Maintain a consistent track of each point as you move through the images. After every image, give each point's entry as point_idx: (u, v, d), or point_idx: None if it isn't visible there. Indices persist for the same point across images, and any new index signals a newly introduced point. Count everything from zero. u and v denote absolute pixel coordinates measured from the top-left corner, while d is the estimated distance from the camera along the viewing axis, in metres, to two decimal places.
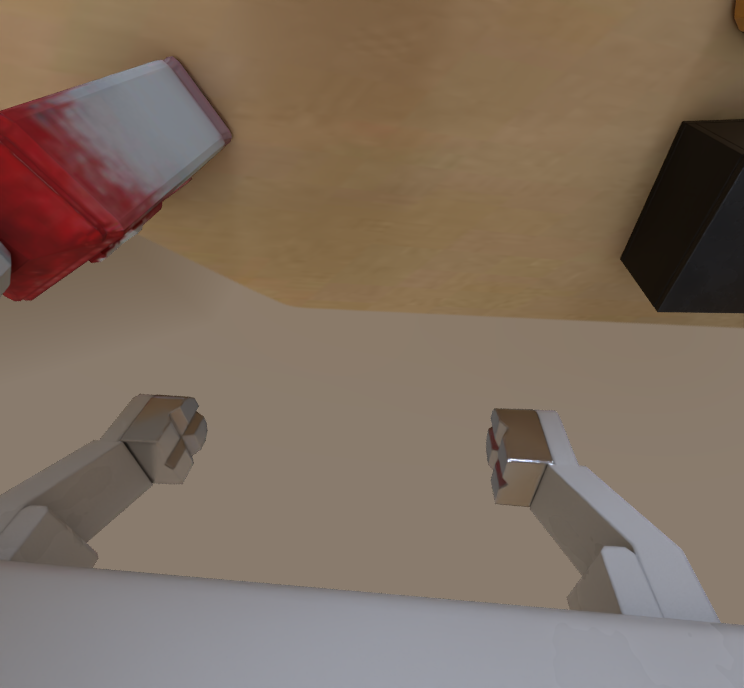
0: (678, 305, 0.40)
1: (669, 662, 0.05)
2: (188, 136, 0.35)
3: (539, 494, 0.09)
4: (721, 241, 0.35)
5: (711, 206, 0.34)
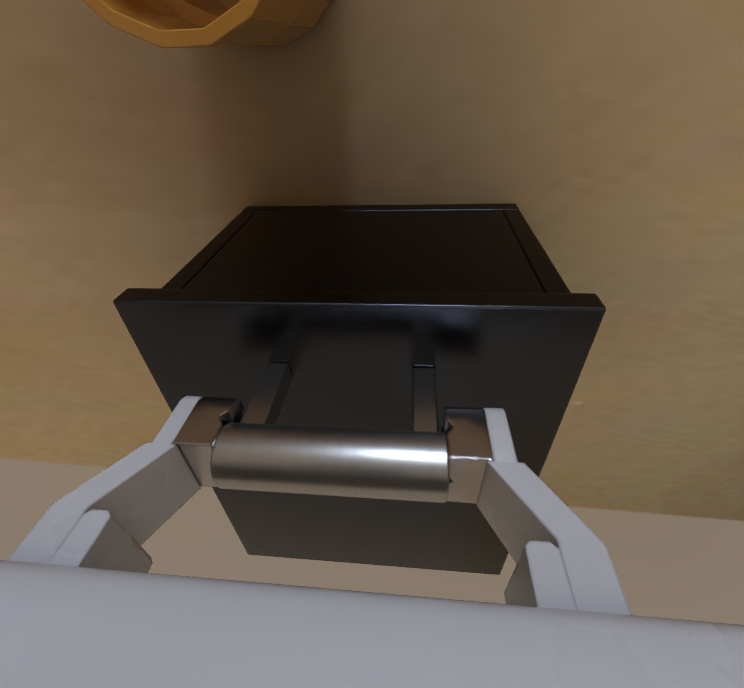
0: (273, 549, 0.20)
1: (669, 662, 0.05)
2: None
3: (483, 491, 0.09)
4: None
5: None
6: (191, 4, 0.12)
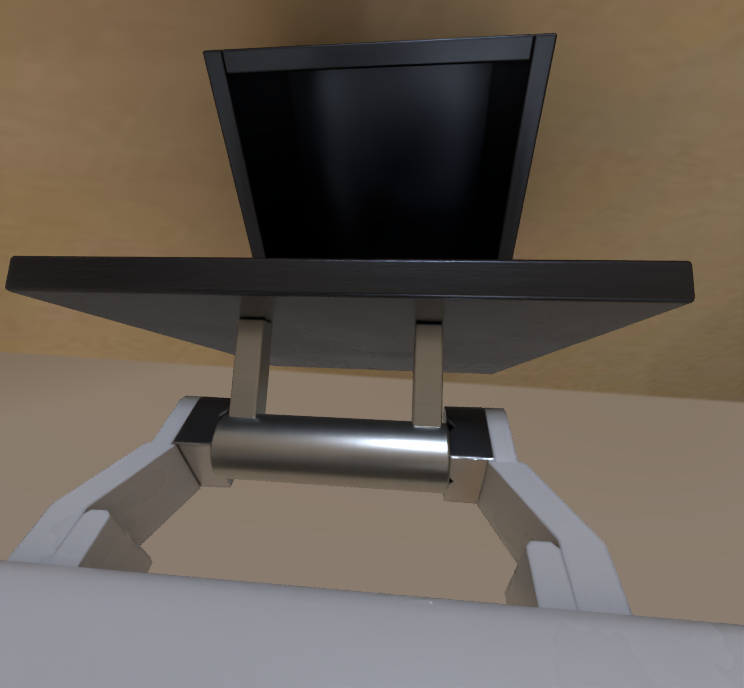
0: (294, 365, 0.23)
1: (669, 662, 0.05)
2: None
3: (483, 491, 0.09)
4: None
5: None
6: None
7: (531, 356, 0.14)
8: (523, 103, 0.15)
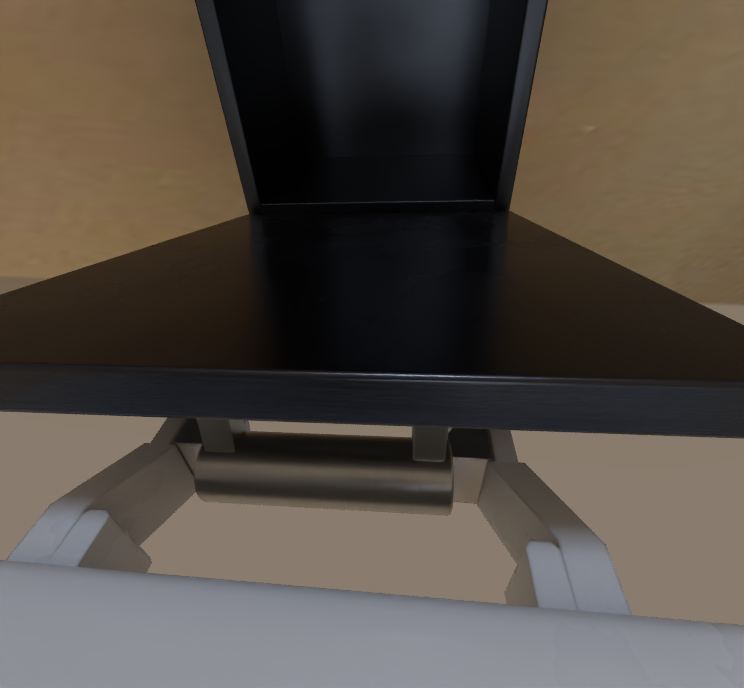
0: None
1: (669, 662, 0.05)
2: None
3: (483, 491, 0.09)
4: None
5: None
6: None
7: None
8: None
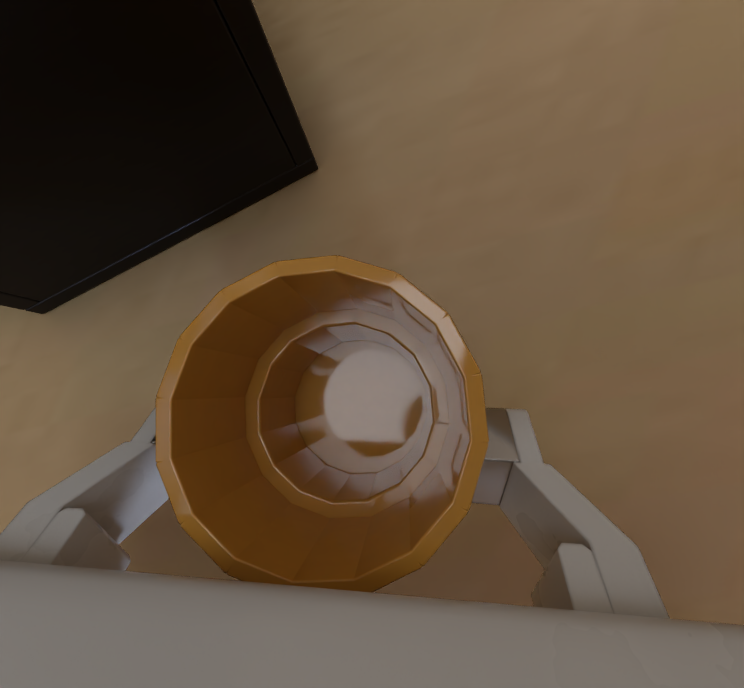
0: None
1: (669, 662, 0.05)
2: None
3: (507, 492, 0.09)
4: None
5: None
6: (350, 324, 0.11)
7: None
8: None
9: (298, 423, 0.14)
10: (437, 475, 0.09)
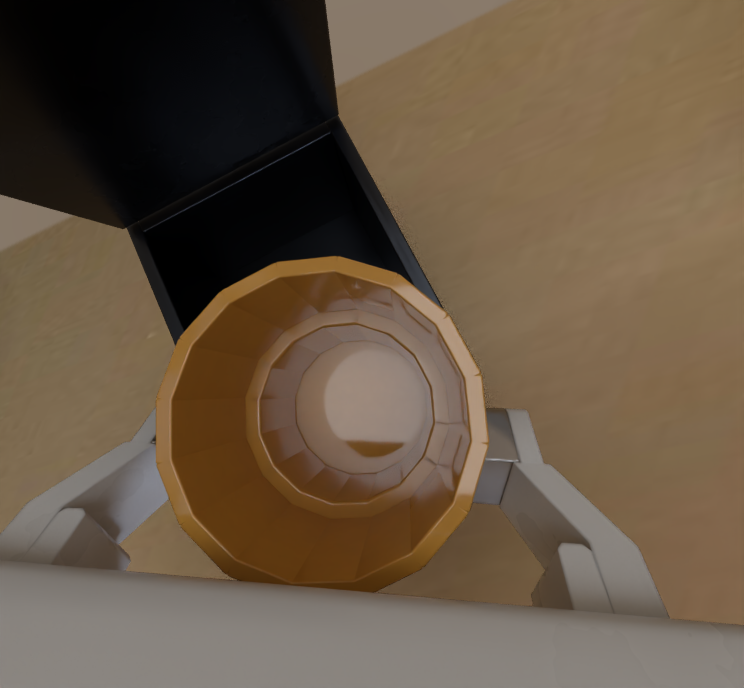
0: None
1: (669, 662, 0.05)
2: None
3: (507, 492, 0.09)
4: None
5: (431, 287, 0.20)
6: (351, 324, 0.11)
7: None
8: None
9: (298, 424, 0.14)
10: (437, 476, 0.09)
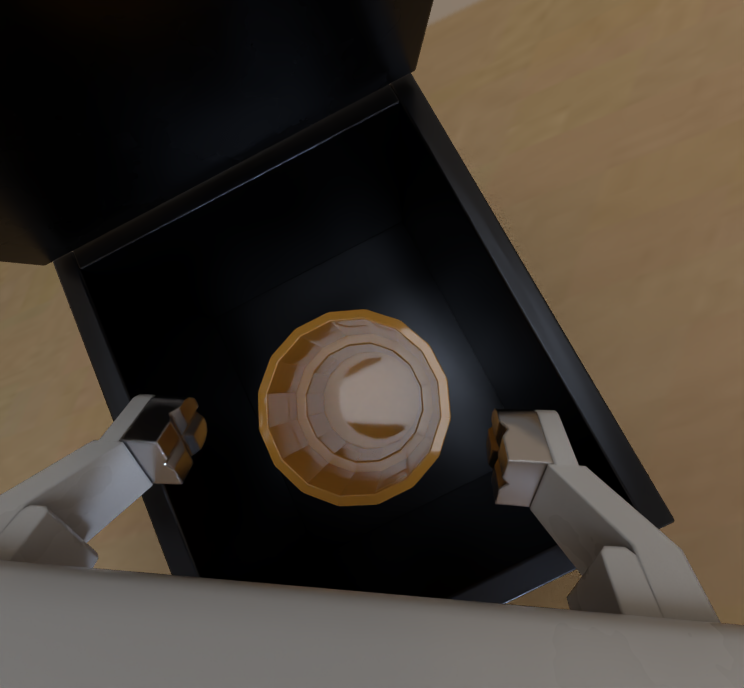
0: None
1: (669, 662, 0.05)
2: None
3: (539, 494, 0.09)
4: None
5: (590, 378, 0.11)
6: (367, 344, 0.17)
7: None
8: None
9: (325, 412, 0.20)
10: (424, 442, 0.15)
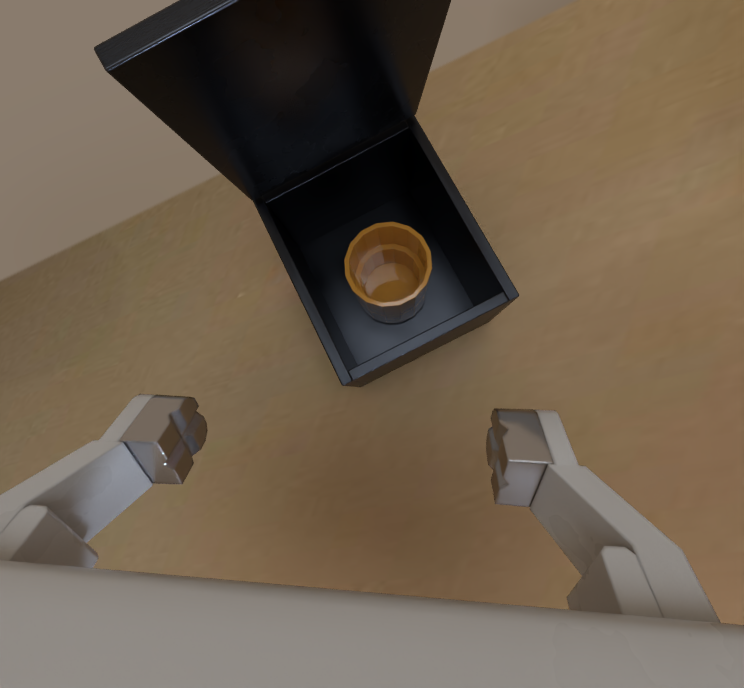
0: None
1: (669, 662, 0.05)
2: None
3: (539, 494, 0.09)
4: None
5: (488, 242, 0.27)
6: (391, 249, 0.32)
7: None
8: (338, 353, 0.27)
9: (366, 296, 0.36)
10: None
